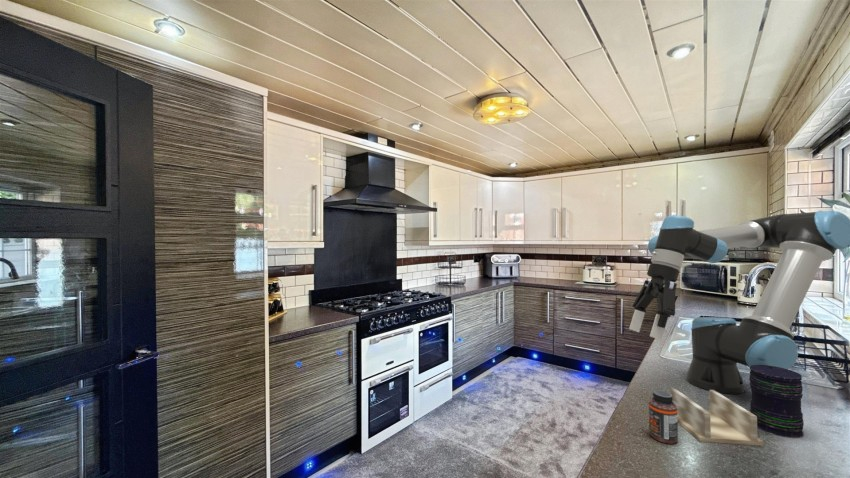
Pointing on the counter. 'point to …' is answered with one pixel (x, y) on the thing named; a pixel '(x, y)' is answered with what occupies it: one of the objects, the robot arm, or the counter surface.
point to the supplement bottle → (663, 417)
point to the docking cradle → (717, 420)
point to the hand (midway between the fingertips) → (643, 334)
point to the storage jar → (777, 400)
